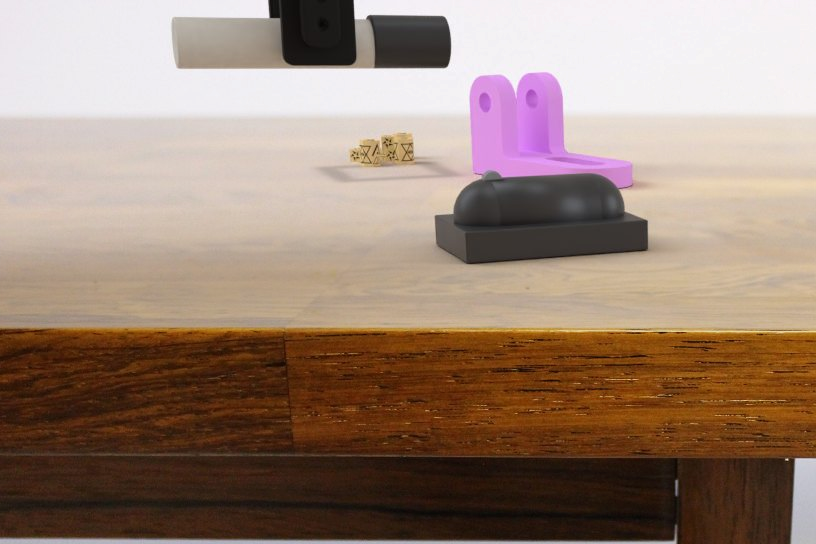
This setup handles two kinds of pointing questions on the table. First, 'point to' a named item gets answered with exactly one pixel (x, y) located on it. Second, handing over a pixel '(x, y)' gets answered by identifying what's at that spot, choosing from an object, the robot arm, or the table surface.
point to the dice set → (384, 150)
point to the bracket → (528, 131)
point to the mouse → (539, 218)
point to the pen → (262, 49)
